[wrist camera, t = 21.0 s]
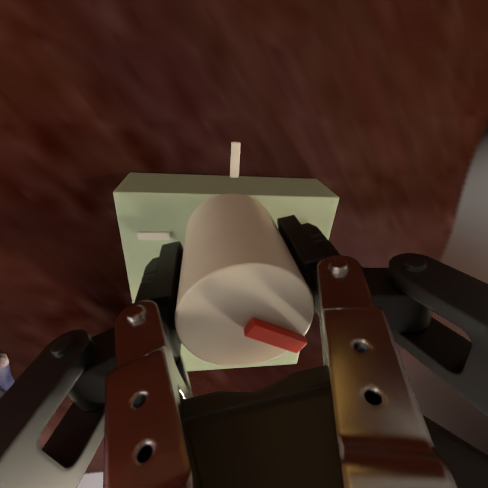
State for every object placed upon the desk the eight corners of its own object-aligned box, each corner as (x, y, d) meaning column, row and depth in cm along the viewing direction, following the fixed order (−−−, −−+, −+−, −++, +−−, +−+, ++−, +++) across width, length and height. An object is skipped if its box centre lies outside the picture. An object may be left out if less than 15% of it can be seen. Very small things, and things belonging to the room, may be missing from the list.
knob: (170, 251, 13) (149, 356, 8) (213, 175, 11) (220, 245, 6) (244, 282, 14) (266, 387, 9) (291, 219, 13) (347, 303, 8)
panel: (123, 125, 13) (100, 135, 10) (325, 136, 14) (354, 148, 11) (152, 336, 20) (144, 377, 17) (285, 330, 21) (297, 365, 18)
